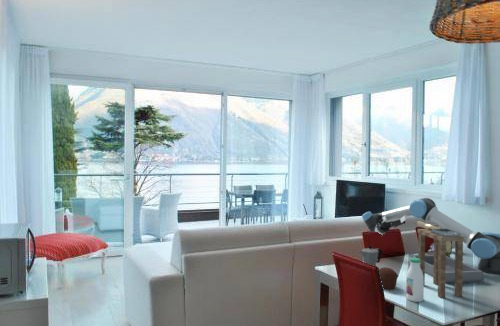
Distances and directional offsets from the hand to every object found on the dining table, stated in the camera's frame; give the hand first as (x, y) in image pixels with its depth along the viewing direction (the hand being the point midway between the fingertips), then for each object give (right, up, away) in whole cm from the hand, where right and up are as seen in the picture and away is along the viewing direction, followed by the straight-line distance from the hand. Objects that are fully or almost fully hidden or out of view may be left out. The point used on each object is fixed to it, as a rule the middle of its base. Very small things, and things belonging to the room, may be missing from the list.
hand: (395, 217), depth 249 cm
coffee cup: (+48, -29, +32) cm, 65 cm away
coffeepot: (-24, -31, -25) cm, 46 cm away
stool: (+4, -31, -49) cm, 58 cm away
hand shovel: (+4, -1, -44) cm, 44 cm away
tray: (+21, -30, -20) cm, 42 cm away
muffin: (-21, -31, -44) cm, 58 cm away
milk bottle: (-14, -31, -61) cm, 70 cm away
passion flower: (+37, -30, +20) cm, 52 cm away
